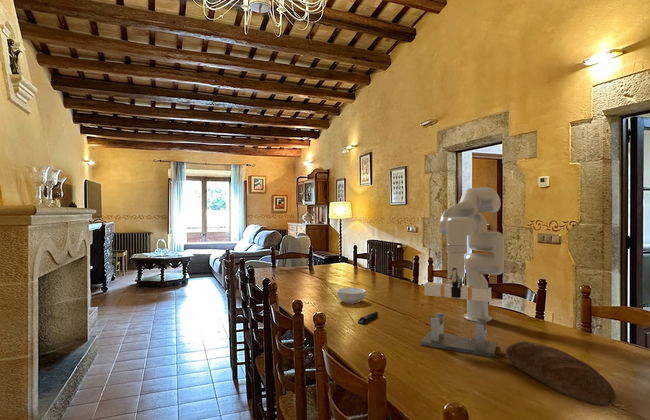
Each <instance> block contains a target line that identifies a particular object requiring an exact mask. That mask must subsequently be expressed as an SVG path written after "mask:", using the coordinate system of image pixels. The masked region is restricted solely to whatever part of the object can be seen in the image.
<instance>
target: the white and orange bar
mask: <svg viewBox="0 0 650 420" xmlns="http://www.w3.org/2000/svg"><path fill="white" fill-rule="evenodd" d="M451 287H452V283H445V282H443V283H441V282H430V281H427V282H425V283H424V296H432V297H440V298H449V299H452V298H453V297H452V296H451ZM453 299H454V298H453ZM457 299H461V300H467V299H468V300H478V301H487V302H488V303H490V302H491V300H492V287H489V286H488V287H478V286H470V285H469V286H467V284H466V285H465V284H462V285H460V298H457Z"/></svg>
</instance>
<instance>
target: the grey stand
mask: <svg viewBox="0 0 650 420" xmlns="http://www.w3.org/2000/svg"><path fill="white" fill-rule="evenodd" d="M434 314H435V317H430V331H428V332H427V333H426V334H425V336H424V337H422V339H421V341H420V346H423V347H428V348H429V347H430V348H435V349H440V350H447V351H452V352H458V353H463V354H464V353H465V354H468V355H469V354H470V355H476V356H482V357H487V358H492V359H493V358H494V359H495V356H496V351H497V346H498V342H497V341H491V340H487V322H486V319H483V318H478V319H477V322H475V323H474V338H473V337H472V338H471V337H466V336H458V335H451V334H447V333H444V329H445V328H444V324H445V322H444V316H445V315H444V314H445V313H442V312H435V313H434Z"/></svg>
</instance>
